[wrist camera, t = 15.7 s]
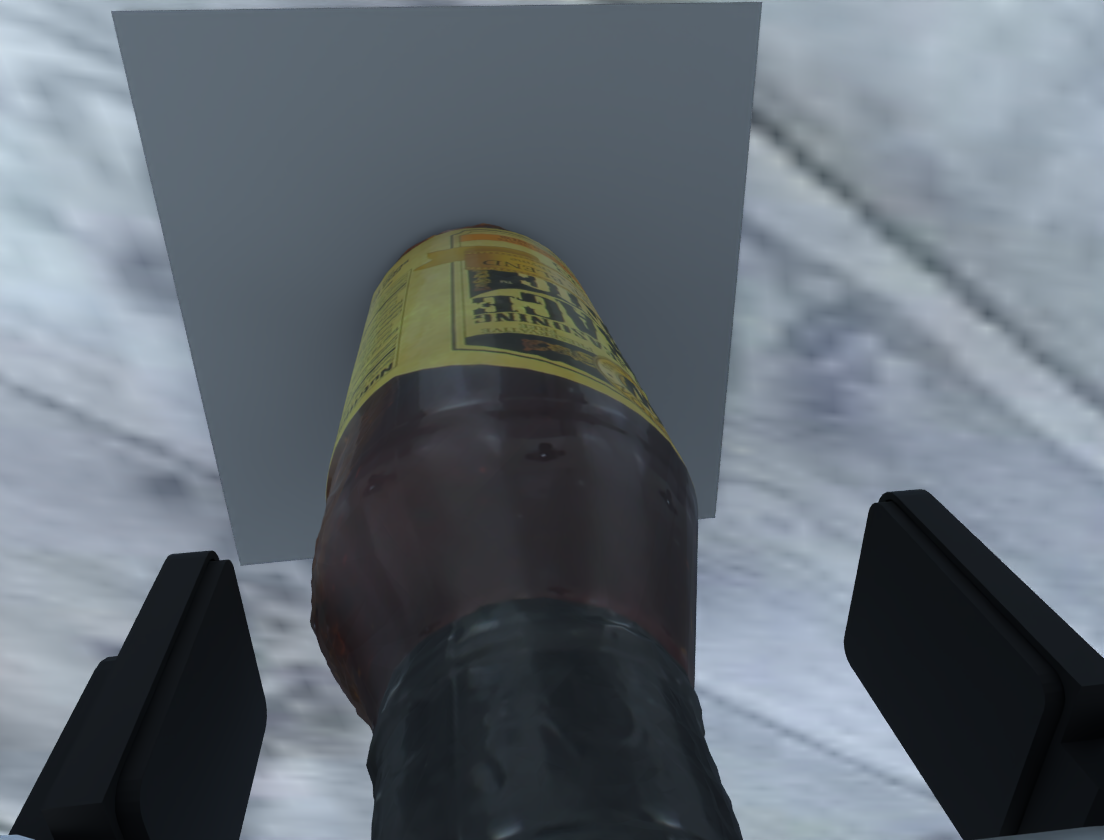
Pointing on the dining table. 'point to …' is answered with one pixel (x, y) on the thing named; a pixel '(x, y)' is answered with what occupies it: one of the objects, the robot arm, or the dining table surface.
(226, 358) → the rubber mat
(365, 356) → the sauce bottle
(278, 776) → the dining table surface
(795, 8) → the dining table surface
